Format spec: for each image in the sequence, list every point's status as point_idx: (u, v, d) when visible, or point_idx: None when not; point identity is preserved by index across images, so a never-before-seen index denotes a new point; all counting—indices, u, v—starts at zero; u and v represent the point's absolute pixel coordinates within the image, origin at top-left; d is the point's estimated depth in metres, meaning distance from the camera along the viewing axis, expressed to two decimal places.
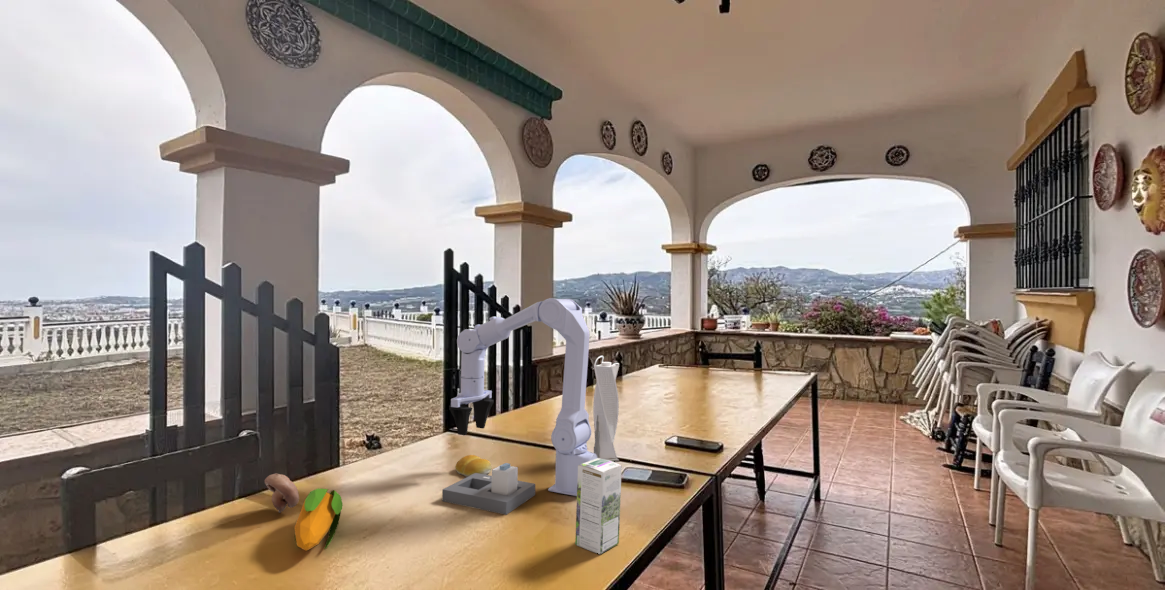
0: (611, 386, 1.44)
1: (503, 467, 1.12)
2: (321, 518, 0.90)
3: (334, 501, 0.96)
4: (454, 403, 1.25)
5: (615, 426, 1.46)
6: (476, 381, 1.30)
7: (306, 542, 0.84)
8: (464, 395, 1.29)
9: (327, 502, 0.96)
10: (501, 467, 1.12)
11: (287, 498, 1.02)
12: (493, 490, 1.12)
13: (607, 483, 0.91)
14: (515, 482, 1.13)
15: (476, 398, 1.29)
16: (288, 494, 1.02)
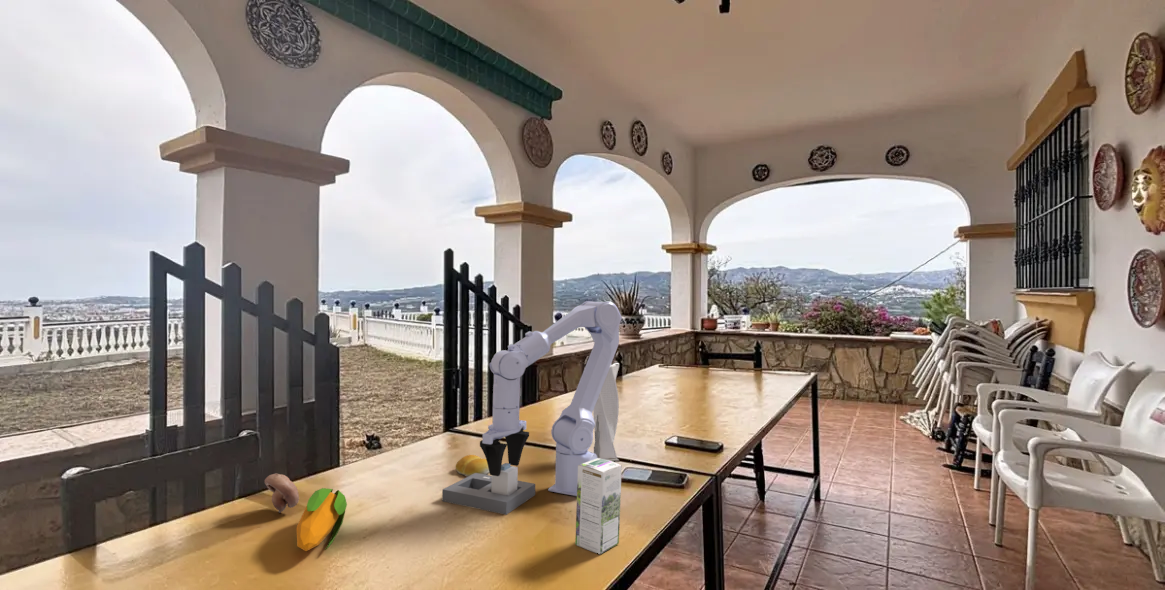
0: (611, 386, 1.44)
1: (503, 467, 1.12)
2: (322, 518, 0.90)
3: (337, 501, 0.96)
4: (486, 439, 1.06)
5: (615, 426, 1.46)
6: (511, 412, 1.11)
7: (305, 542, 0.84)
8: (497, 428, 1.10)
9: (330, 502, 0.96)
10: (501, 467, 1.12)
11: (287, 498, 1.02)
12: (493, 490, 1.12)
13: (607, 483, 0.91)
14: (515, 482, 1.13)
15: (511, 432, 1.10)
16: (288, 494, 1.02)
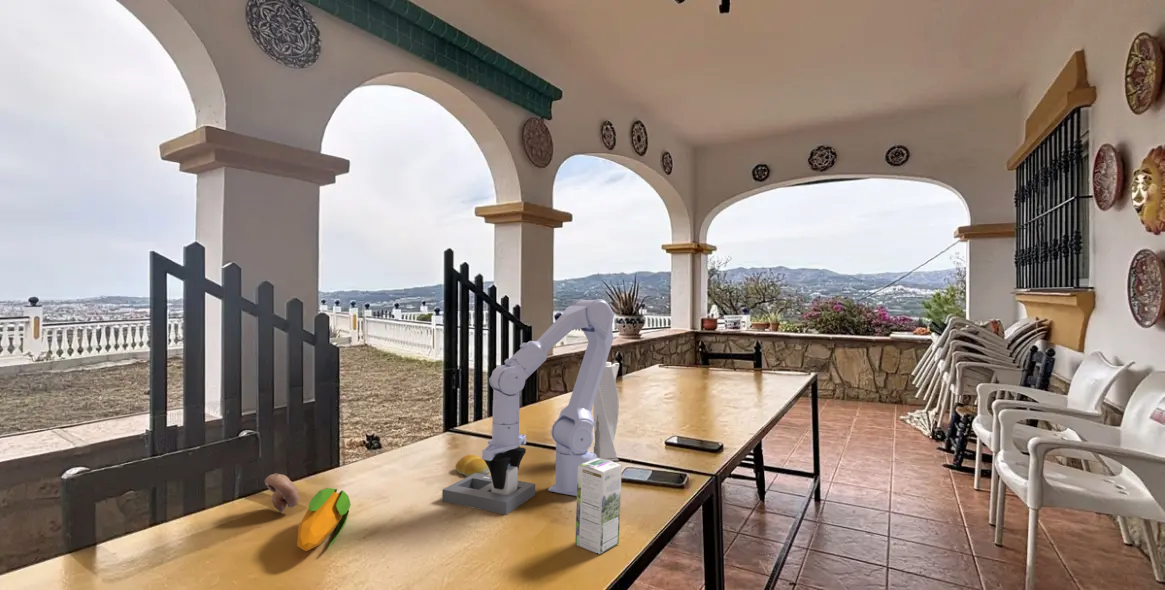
0: (611, 386, 1.44)
1: None
2: (324, 518, 0.90)
3: (340, 502, 0.95)
4: (486, 455, 1.06)
5: (615, 426, 1.46)
6: (511, 427, 1.11)
7: (305, 542, 0.84)
8: (497, 444, 1.10)
9: (333, 502, 0.96)
10: None
11: (287, 498, 1.02)
12: (493, 490, 1.12)
13: (607, 483, 0.91)
14: (515, 482, 1.13)
15: (511, 448, 1.10)
16: (288, 494, 1.02)
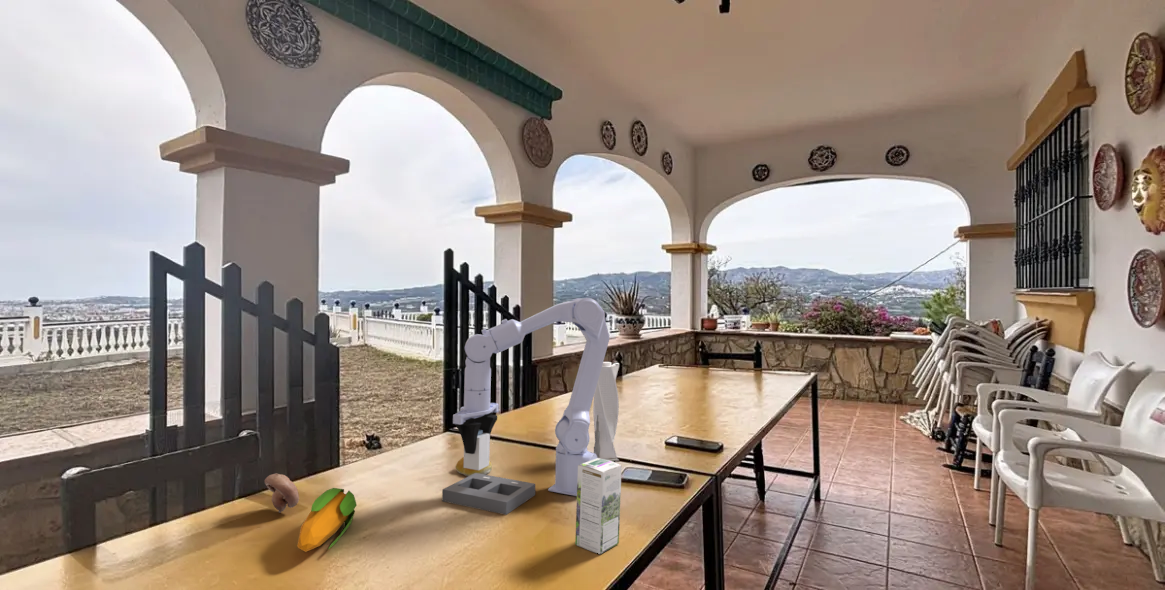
0: (611, 386, 1.44)
1: None
2: (325, 519, 0.90)
3: (344, 502, 0.95)
4: (456, 419, 1.09)
5: (615, 426, 1.46)
6: (482, 394, 1.14)
7: (304, 543, 0.84)
8: (468, 410, 1.13)
9: (338, 503, 0.95)
10: None
11: (287, 498, 1.02)
12: (465, 455, 1.15)
13: (607, 483, 0.91)
14: (487, 448, 1.16)
15: (481, 413, 1.13)
16: (288, 494, 1.02)
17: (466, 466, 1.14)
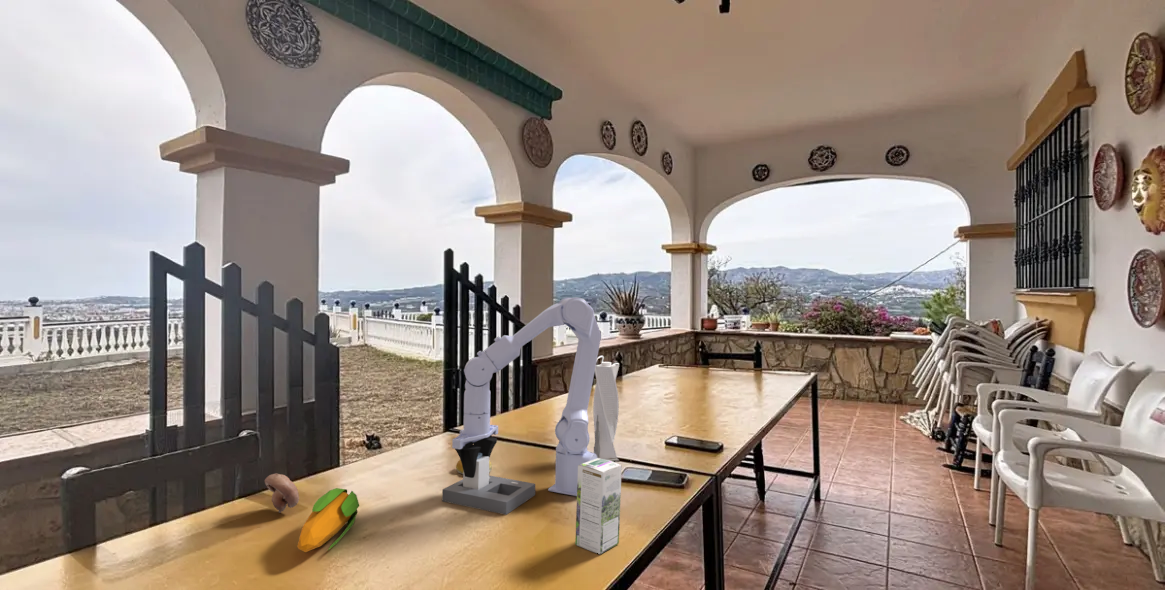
0: (611, 386, 1.44)
1: None
2: (326, 519, 0.89)
3: (346, 503, 0.95)
4: (455, 444, 1.09)
5: (615, 426, 1.46)
6: (481, 417, 1.14)
7: (303, 543, 0.84)
8: (467, 433, 1.13)
9: (340, 503, 0.95)
10: None
11: (287, 498, 1.02)
12: (465, 479, 1.15)
13: (607, 483, 0.91)
14: (486, 471, 1.16)
15: (481, 437, 1.13)
16: (288, 494, 1.02)
17: None
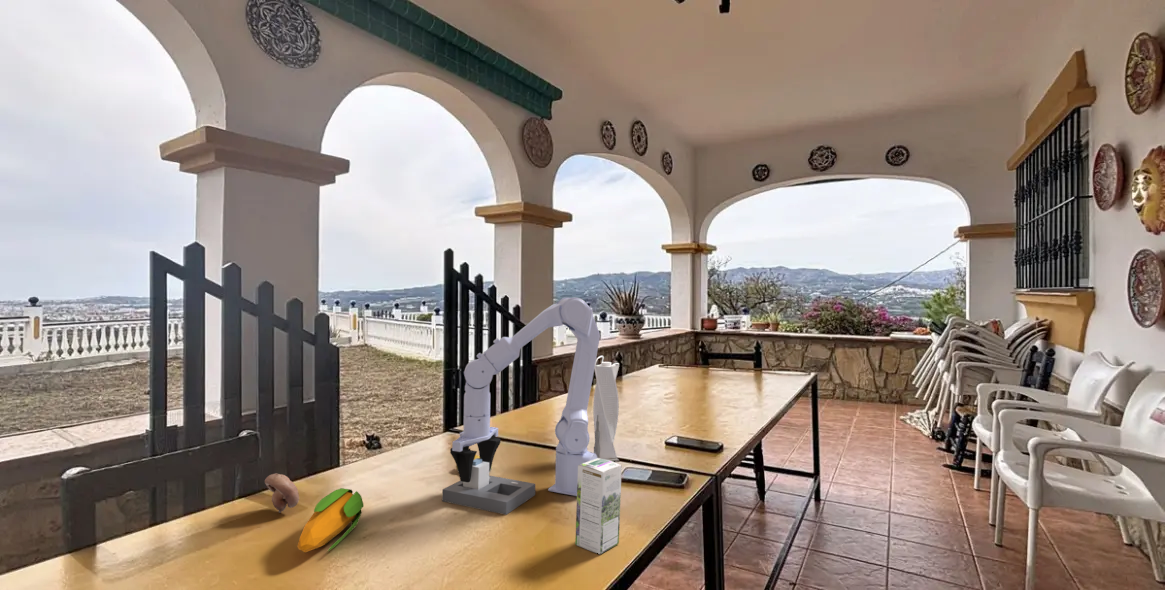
0: (611, 386, 1.44)
1: (474, 462, 1.15)
2: (327, 520, 0.89)
3: (349, 503, 0.95)
4: (455, 447, 1.09)
5: (615, 426, 1.46)
6: (481, 420, 1.14)
7: (303, 543, 0.84)
8: (467, 436, 1.13)
9: (343, 504, 0.95)
10: None
11: (287, 498, 1.02)
12: (465, 484, 1.15)
13: (607, 483, 0.91)
14: (486, 477, 1.16)
15: (481, 439, 1.13)
16: (288, 494, 1.02)
17: None
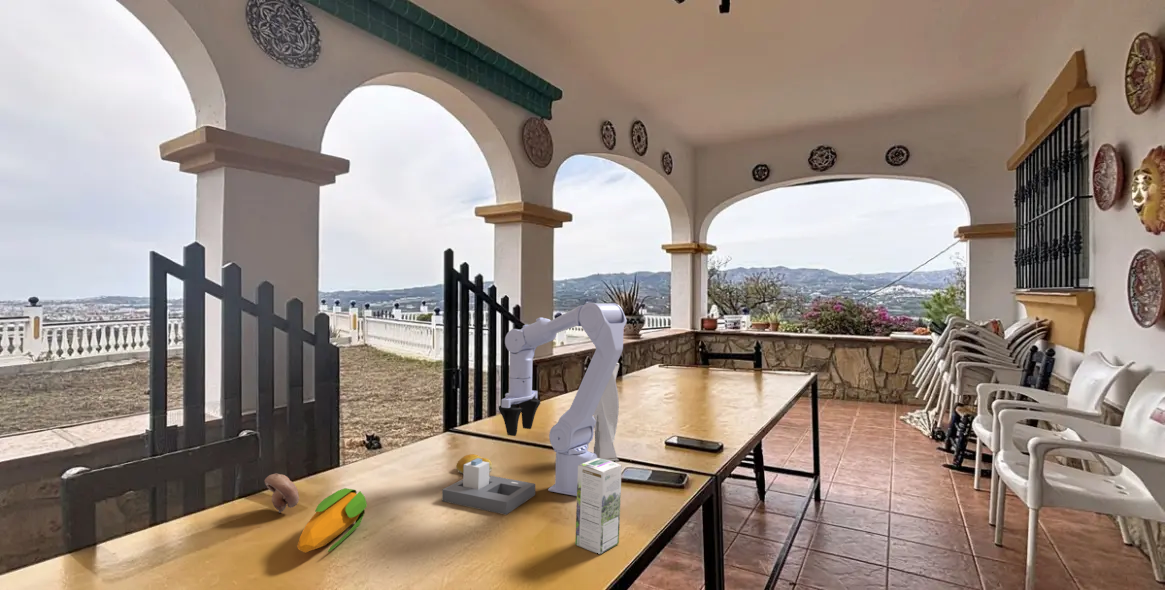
0: (611, 386, 1.44)
1: (474, 462, 1.15)
2: (328, 520, 0.89)
3: (351, 504, 0.95)
4: (504, 403, 1.24)
5: (615, 426, 1.46)
6: (525, 381, 1.28)
7: (302, 544, 0.84)
8: (513, 395, 1.28)
9: (345, 504, 0.95)
10: (472, 462, 1.15)
11: (287, 498, 1.02)
12: (465, 484, 1.15)
13: (607, 483, 0.91)
14: (486, 477, 1.16)
15: (525, 398, 1.28)
16: (288, 494, 1.02)
17: None
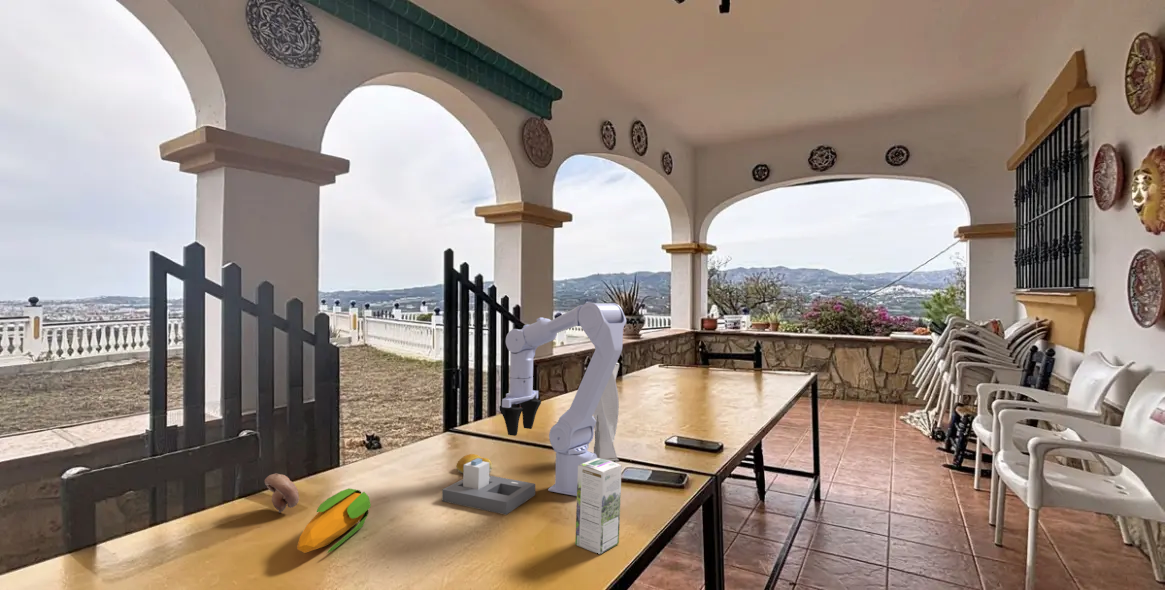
0: (611, 386, 1.44)
1: (474, 462, 1.15)
2: (329, 521, 0.89)
3: (353, 504, 0.94)
4: (505, 403, 1.24)
5: (615, 426, 1.46)
6: (526, 381, 1.29)
7: (301, 544, 0.83)
8: (514, 395, 1.29)
9: (348, 504, 0.95)
10: (473, 462, 1.15)
11: (287, 498, 1.02)
12: (465, 484, 1.15)
13: (607, 483, 0.91)
14: (486, 477, 1.16)
15: (526, 398, 1.28)
16: (288, 494, 1.02)
17: None
